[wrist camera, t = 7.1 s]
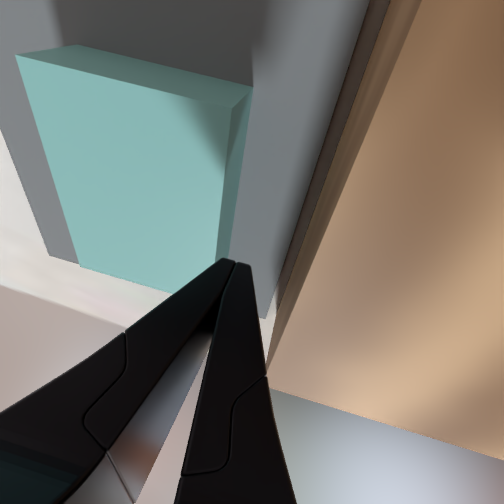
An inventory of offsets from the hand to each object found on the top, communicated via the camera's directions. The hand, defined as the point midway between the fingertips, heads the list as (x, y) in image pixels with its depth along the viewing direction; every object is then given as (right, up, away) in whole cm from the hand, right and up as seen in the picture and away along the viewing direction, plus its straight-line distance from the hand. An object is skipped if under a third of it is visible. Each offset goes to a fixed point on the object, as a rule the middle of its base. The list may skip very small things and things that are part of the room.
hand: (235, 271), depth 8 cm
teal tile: (-3, +3, +3) cm, 5 cm away
